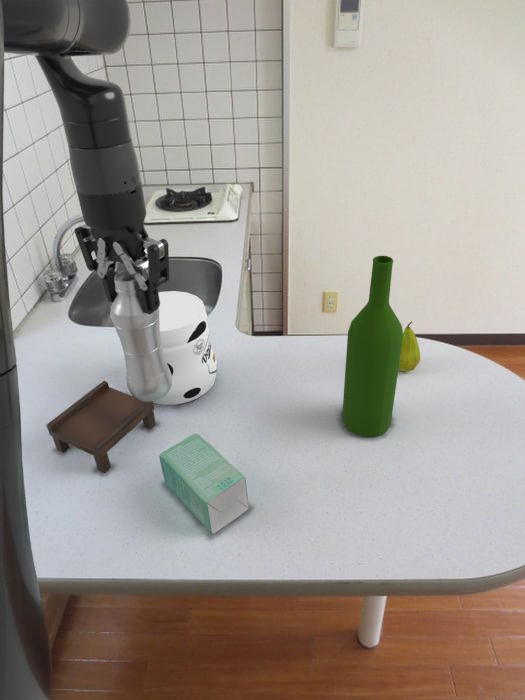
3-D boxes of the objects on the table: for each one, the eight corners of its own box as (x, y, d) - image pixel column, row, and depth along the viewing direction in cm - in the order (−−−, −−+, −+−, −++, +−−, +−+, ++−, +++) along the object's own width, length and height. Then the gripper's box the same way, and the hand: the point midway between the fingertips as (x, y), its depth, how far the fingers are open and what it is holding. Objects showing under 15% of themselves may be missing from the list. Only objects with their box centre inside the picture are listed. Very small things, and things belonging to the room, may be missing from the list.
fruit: (402, 355, 114) (409, 307, 107) (425, 369, 109) (433, 320, 103) (381, 366, 111) (387, 318, 104) (404, 381, 107) (411, 331, 100)
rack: (104, 474, 89) (96, 448, 85) (55, 450, 94) (45, 424, 90) (157, 424, 98) (152, 399, 95) (110, 405, 104) (103, 380, 100)
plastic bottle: (180, 397, 79) (161, 278, 68) (137, 413, 77) (109, 292, 65) (165, 375, 84) (145, 260, 72) (124, 389, 81) (96, 272, 70)
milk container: (236, 383, 108) (229, 307, 98) (169, 426, 98) (154, 346, 88) (182, 351, 118) (172, 280, 108) (117, 388, 108) (98, 312, 98)
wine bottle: (399, 417, 98) (424, 256, 79) (375, 445, 92) (395, 278, 74) (357, 399, 102) (371, 242, 84) (332, 424, 97) (341, 262, 78)
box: (200, 461, 90) (195, 429, 86) (250, 509, 82) (247, 476, 77) (163, 483, 87) (156, 451, 82) (212, 536, 78) (207, 503, 74)
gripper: (41, 182, 62) (75, 305, 72) (132, 200, 56) (156, 332, 65) (88, 165, 67) (114, 282, 77) (176, 180, 61) (192, 305, 71)
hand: (133, 305), depth 71 cm, fingers closed on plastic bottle, 6 cm apart
